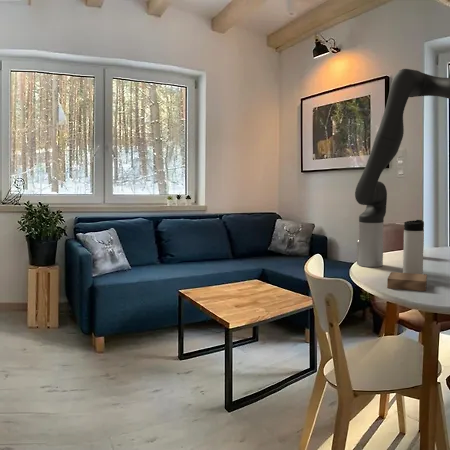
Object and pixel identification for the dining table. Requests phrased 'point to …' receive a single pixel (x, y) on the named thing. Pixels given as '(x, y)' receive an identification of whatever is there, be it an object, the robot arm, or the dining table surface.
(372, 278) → the dining table surface
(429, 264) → the dining table surface
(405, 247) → the travel mug
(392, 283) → the walnut stand
